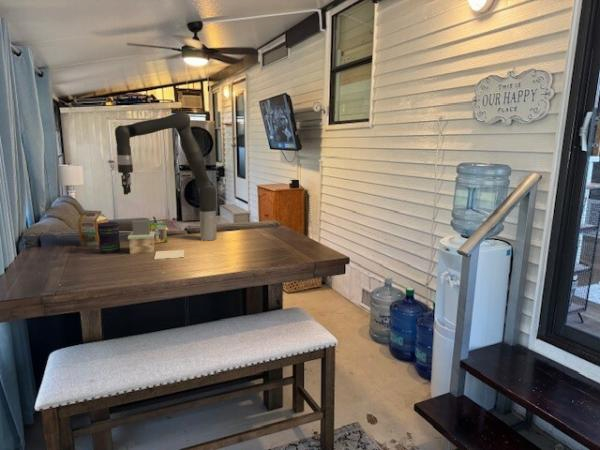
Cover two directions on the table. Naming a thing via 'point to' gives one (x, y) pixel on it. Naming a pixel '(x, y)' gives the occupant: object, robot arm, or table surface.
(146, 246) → the box
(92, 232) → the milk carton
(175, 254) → the mat
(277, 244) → the table surface
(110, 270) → the table surface
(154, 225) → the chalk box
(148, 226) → the lid
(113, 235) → the dark blue cylinder
